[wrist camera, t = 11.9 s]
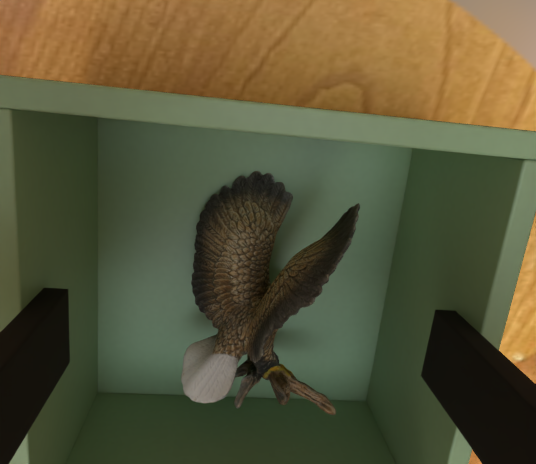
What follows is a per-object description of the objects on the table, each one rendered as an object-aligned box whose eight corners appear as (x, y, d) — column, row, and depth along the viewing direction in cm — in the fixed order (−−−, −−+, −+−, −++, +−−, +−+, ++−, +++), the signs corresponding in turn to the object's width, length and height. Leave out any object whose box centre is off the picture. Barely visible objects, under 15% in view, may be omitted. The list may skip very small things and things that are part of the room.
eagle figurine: (364, 358, 22) (391, 187, 18) (305, 476, 17) (325, 266, 13) (233, 311, 25) (231, 156, 21) (146, 396, 20) (121, 208, 16)
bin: (83, 85, 20) (-25, 72, 11) (426, 121, 21) (558, 133, 13) (86, 395, 24) (8, 557, 15) (373, 404, 25) (445, 554, 17)
